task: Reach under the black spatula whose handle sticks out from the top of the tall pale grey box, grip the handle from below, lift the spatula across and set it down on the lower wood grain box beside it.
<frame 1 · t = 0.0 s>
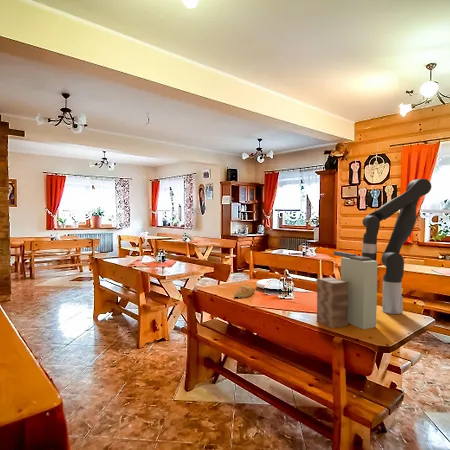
hand: (367, 280, 184), 17 cm above the table, tool pointing down, fingers open, 8 cm apart
spatula: (350, 257, 170), point 32 cm above the table, touching tall pale grey box
tan rounded lump: (244, 295, 219), on the table
plate: (274, 288, 240), on the table
tall pale grey box: (357, 323, 165), on the table
wood grain box: (331, 323, 165), on the table
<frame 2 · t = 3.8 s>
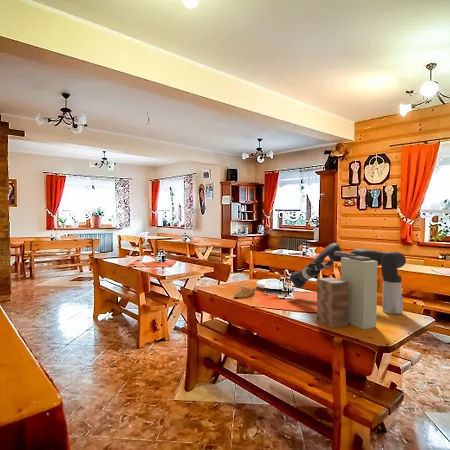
hand: (326, 261, 187), 27 cm above the table, tool pointing upward, fingers open, 8 cm apart
nothing on the table moved.
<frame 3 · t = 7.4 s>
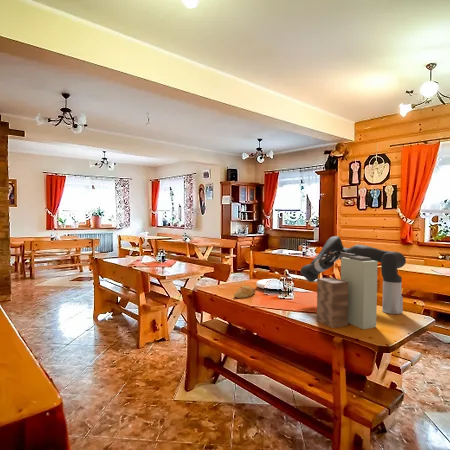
hand: (342, 251, 175), 35 cm above the table, tool pointing upward, fingers closed on spatula, 2 cm apart
spatula: (350, 257, 170), point 32 cm above the table, touching gripper, tall pale grey box
everything else where it was.
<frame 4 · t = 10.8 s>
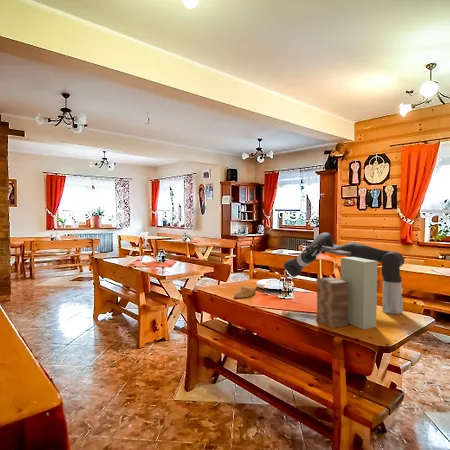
hand: (323, 244, 171), 38 cm above the table, tool pointing upward, fingers closed on spatula, 2 cm apart
spatula: (330, 251, 165), point 36 cm above the table, touching gripper
everything else where it was.
when the fingers open (26 cm above the table, at t = 14.1 s): spatula drops 1 cm, resting on wood grain box.
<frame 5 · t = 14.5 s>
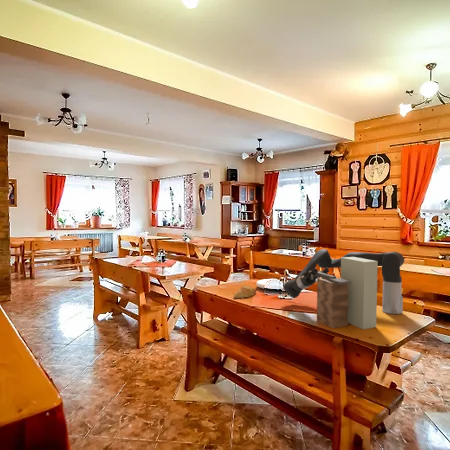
hand: (322, 269, 172), 25 cm above the table, tool pointing upward, fingers open, 6 cm apart
spatula: (330, 279, 166), point 21 cm above the table, touching wood grain box
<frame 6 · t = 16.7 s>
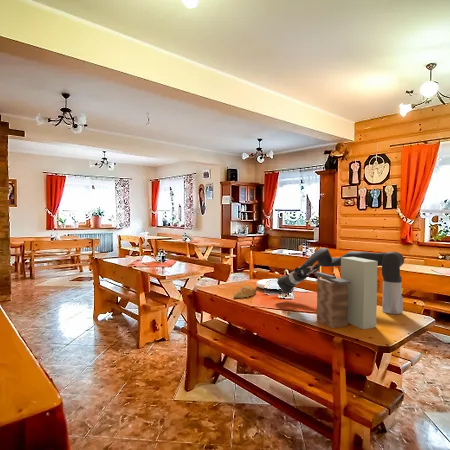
hand: (312, 265, 179), 26 cm above the table, tool pointing upward, fingers open, 8 cm apart
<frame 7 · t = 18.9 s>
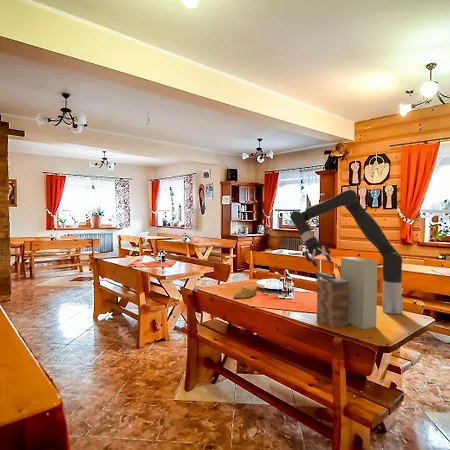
hand: (323, 264, 187), 26 cm above the table, tool tilted 40°, fingers open, 8 cm apart
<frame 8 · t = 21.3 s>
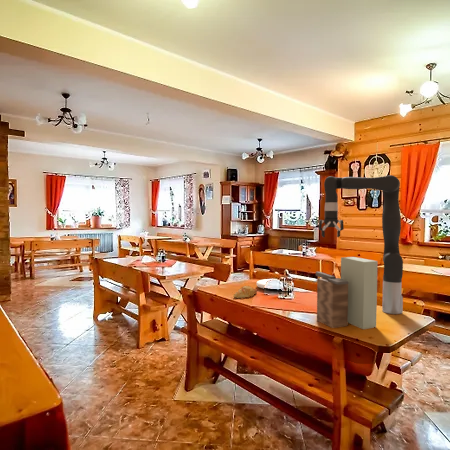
hand: (330, 237, 199), 40 cm above the table, tool pointing down, fingers open, 8 cm apart
at the end: spatula inside the target area on the wood grain box (1.0 cm from its centre), point 21.5 cm above the wood grain box's base; spatula touching wood grain box; the gripper is holding nothing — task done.
